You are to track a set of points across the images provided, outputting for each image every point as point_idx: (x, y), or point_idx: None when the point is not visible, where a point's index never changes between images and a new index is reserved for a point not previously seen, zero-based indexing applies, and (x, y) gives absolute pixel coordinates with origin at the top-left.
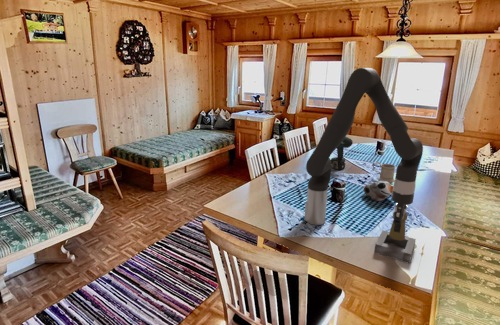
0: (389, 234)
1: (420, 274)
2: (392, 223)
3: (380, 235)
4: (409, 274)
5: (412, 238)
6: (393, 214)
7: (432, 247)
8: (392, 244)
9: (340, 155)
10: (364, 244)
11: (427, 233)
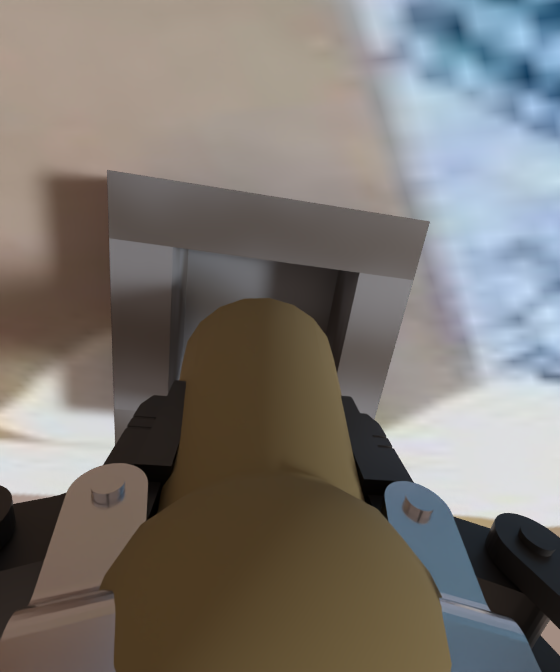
0: (235, 307)
1: (60, 458)
2: (248, 388)
3: (312, 209)
4: (17, 411)
5: None
6: (181, 592)
7: None
8: (316, 306)
9: None
10: (233, 77)
11: (537, 478)
